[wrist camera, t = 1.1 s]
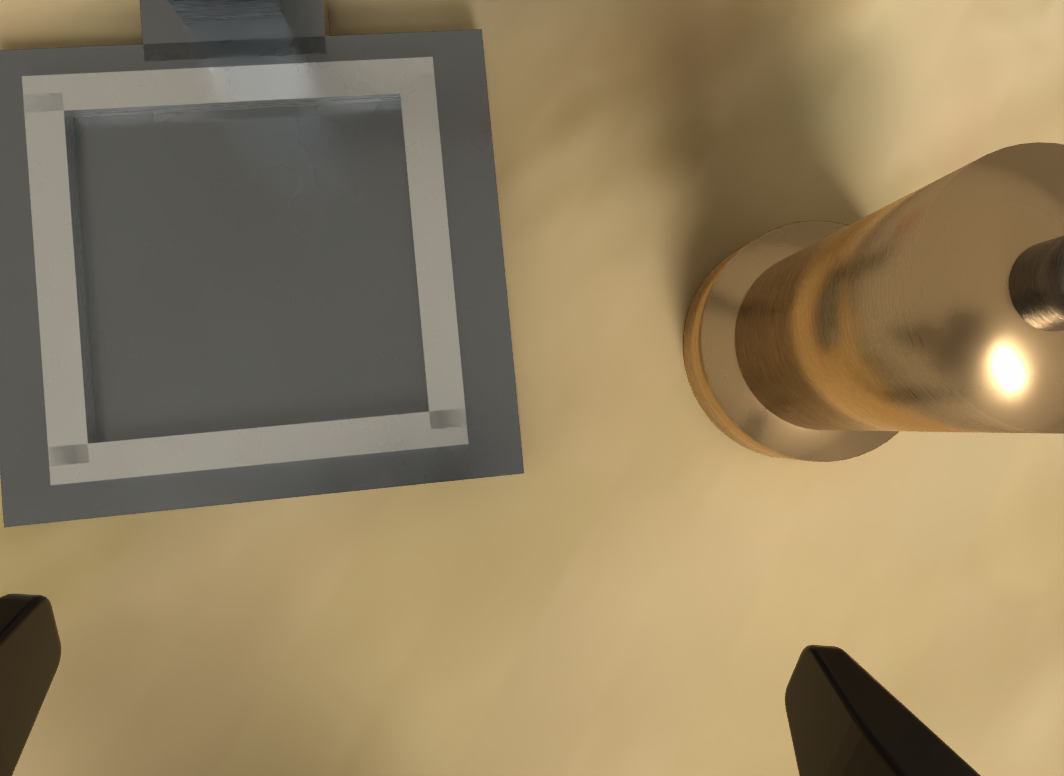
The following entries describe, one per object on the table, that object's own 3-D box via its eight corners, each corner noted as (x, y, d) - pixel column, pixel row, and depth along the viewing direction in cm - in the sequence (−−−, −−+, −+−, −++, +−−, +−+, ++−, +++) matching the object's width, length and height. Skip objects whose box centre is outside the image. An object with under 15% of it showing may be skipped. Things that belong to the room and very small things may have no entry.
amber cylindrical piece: (939, 360, 24) (1443, 293, 12) (782, 505, 24) (1143, 594, 11) (800, 193, 24) (1164, -54, 12) (637, 333, 23) (840, 229, 11)
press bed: (595, 463, 23) (776, 513, 10) (29, 521, 21) (-656, 674, 8) (541, -79, 24) (645, -705, 11) (-11, -63, 22) (-702, -779, 9)
